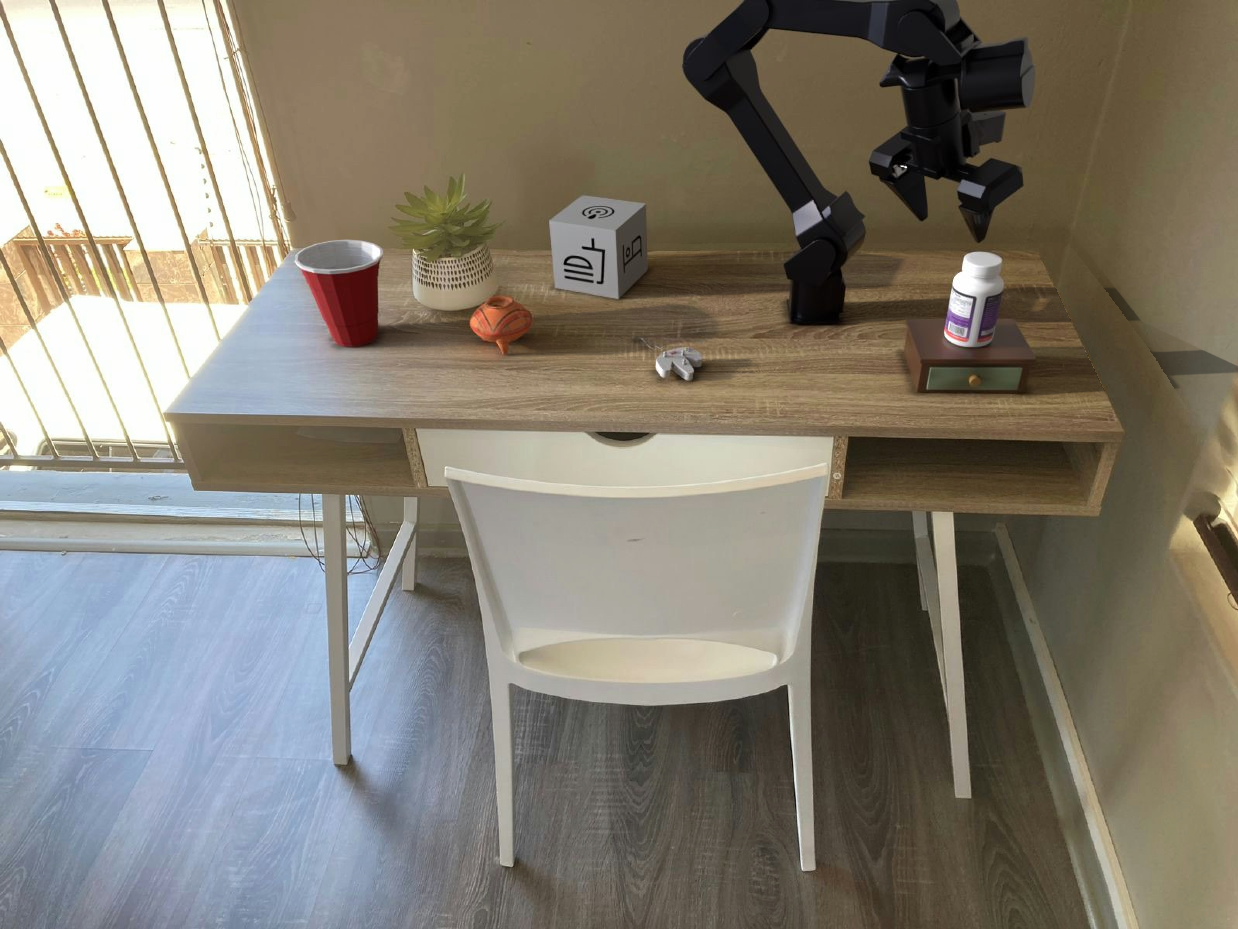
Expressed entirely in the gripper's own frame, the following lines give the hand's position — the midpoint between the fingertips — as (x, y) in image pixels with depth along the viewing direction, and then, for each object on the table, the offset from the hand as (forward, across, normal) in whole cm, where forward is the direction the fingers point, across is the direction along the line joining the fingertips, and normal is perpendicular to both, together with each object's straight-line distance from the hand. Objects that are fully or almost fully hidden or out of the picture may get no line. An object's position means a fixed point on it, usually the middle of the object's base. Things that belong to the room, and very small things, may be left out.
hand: (951, 229), depth 115 cm
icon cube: (0, +36, +32) cm, 48 cm away
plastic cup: (-13, +39, +65) cm, 77 cm away
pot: (-7, +26, +50) cm, 57 cm away
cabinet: (+10, -10, +11) cm, 18 cm away
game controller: (-1, +11, +36) cm, 38 cm away
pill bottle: (+6, -10, +9) cm, 15 cm away
